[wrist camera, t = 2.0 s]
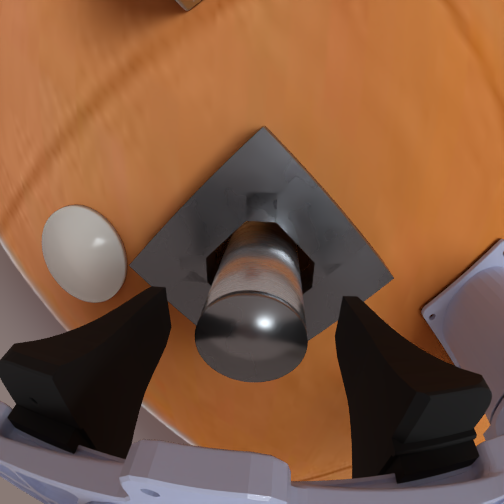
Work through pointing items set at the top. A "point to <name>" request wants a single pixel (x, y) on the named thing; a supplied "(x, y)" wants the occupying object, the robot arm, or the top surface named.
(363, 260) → the housing
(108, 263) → the saucer
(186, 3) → the small box
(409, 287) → the top surface
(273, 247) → the silver metal cylinder
